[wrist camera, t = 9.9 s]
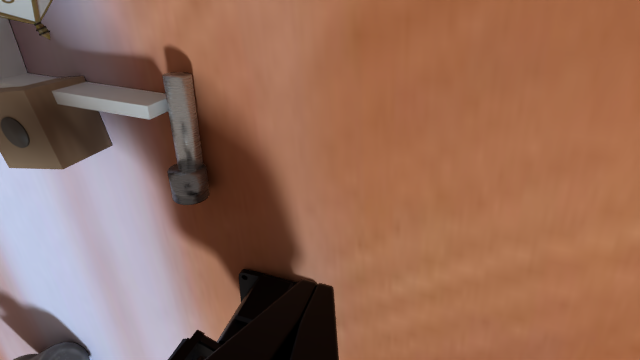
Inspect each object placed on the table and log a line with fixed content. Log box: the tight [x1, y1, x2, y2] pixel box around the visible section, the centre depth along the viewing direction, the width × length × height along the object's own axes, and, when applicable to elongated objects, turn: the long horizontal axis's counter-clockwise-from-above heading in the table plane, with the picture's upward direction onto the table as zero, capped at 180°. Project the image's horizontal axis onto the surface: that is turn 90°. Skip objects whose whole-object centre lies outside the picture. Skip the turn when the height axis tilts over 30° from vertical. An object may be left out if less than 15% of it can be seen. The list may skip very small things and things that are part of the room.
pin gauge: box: [162, 72, 210, 205], centre depth 22 cm, size 8×2×2 cm, turn 177°
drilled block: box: [0, 76, 112, 169], centre depth 23 cm, size 5×5×4 cm
